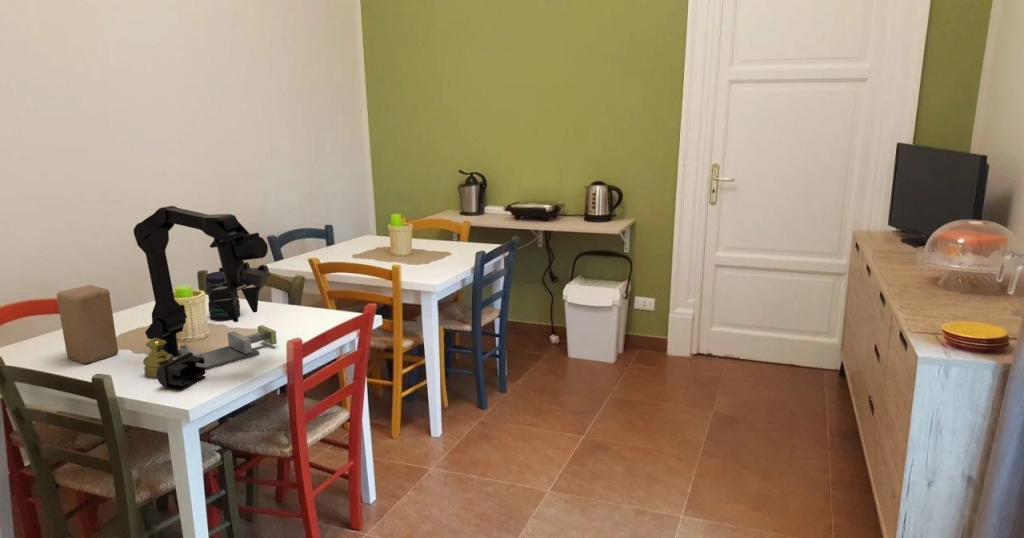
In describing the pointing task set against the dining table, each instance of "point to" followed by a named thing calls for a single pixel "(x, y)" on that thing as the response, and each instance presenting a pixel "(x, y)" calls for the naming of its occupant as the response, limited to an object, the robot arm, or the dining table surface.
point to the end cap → (181, 372)
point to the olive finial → (156, 357)
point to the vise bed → (217, 356)
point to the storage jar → (215, 310)
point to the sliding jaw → (251, 339)
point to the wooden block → (87, 323)
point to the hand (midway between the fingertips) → (246, 317)
